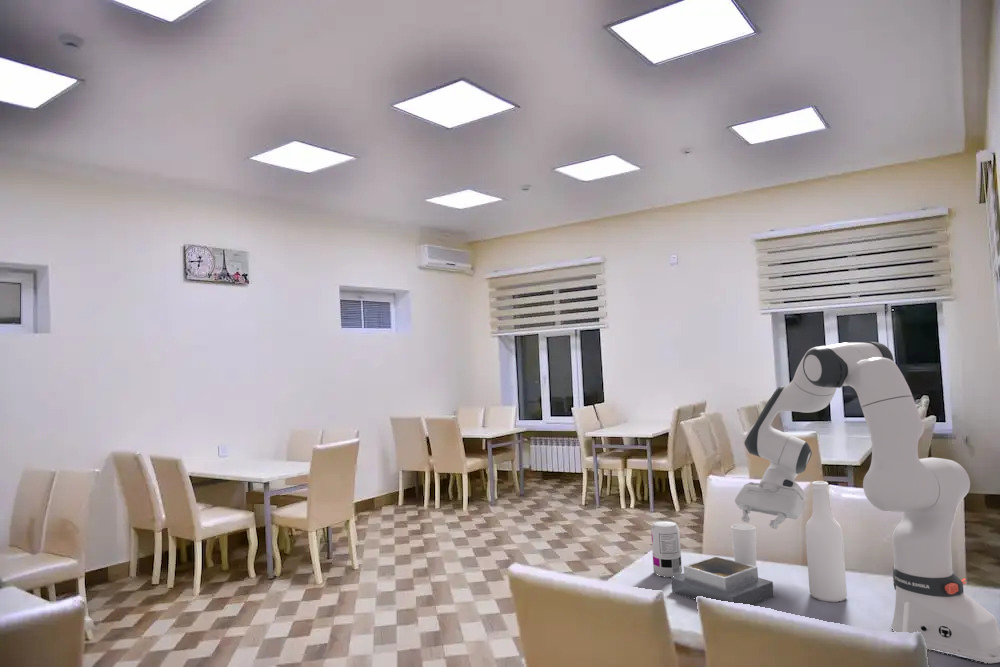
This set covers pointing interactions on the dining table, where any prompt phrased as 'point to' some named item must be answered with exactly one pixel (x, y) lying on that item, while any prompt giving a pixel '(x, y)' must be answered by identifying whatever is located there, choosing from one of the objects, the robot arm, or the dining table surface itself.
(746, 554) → the drinking glass
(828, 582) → the white bottle
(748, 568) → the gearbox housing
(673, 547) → the supplement can
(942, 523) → the robot arm
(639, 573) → the dining table surface
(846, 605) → the dining table surface
